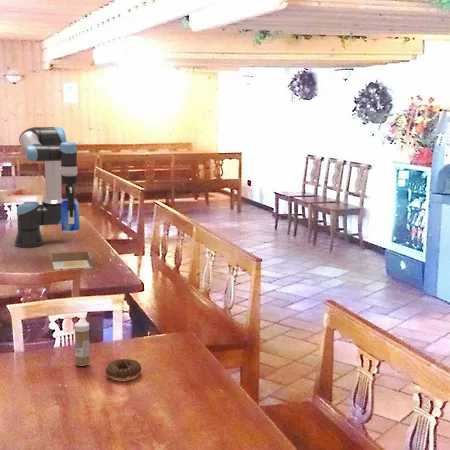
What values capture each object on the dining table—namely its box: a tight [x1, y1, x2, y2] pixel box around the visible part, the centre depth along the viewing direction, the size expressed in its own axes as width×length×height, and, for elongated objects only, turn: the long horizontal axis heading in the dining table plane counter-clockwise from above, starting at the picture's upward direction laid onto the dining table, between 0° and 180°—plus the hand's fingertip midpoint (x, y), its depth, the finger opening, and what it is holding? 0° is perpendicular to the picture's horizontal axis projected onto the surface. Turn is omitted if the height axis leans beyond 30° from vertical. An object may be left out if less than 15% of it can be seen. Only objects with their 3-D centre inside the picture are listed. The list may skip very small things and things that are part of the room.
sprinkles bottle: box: [73, 321, 90, 366], centre depth 199 cm, size 5×5×13 cm
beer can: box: [60, 197, 81, 234], centre depth 311 cm, size 8×8×16 cm
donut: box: [105, 358, 142, 380], centre depth 193 cm, size 11×11×4 cm
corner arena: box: [51, 250, 94, 271], centre depth 316 cm, size 15×18×5 cm
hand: (70, 221), depth 311 cm, fingers closed on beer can, 8 cm apart
